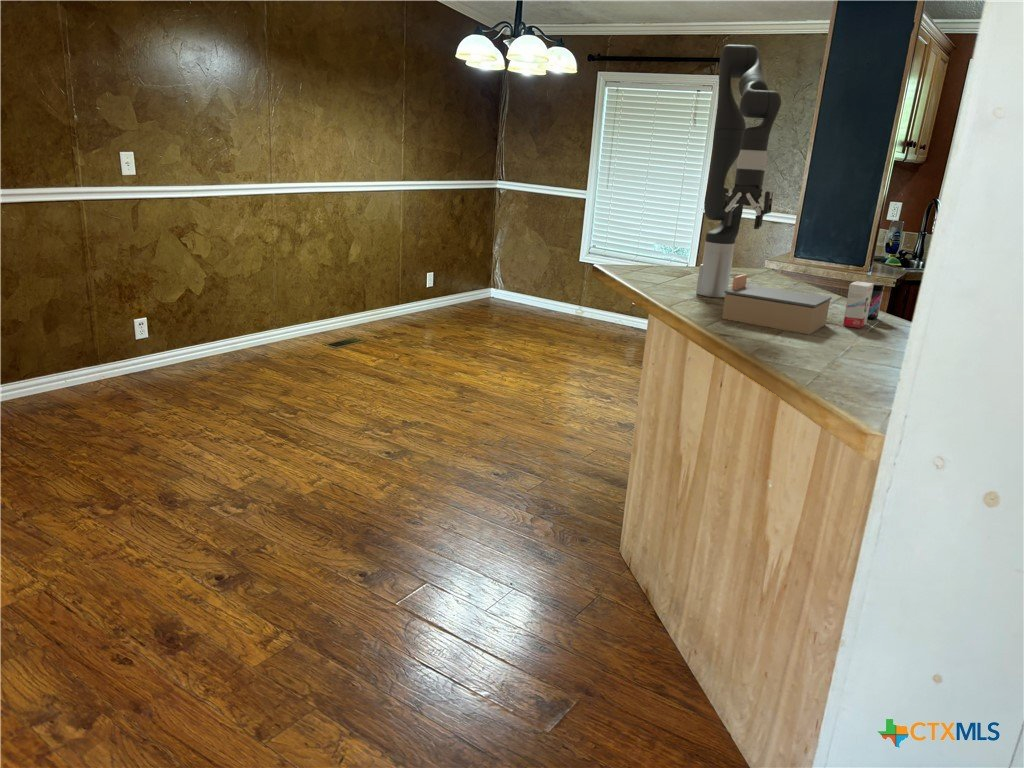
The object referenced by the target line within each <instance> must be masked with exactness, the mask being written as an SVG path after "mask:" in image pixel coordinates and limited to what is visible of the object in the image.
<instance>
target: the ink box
mask: <svg viewBox="0 0 1024 768" xmlns="http://www.w3.org/2000/svg"><path fill="white" fill-rule="evenodd" d="M873 285H874V283H867V282H860V281H854V282H851V283H850V284H849V286H848V292H847V293H848V294H847V299H846V305H845V311H844V315H843V316H844V317H843V323H842V326H843V327H850V328H858V329H861V328H862V327H864V326H865V325H866V324H867V323H868V320H867V318H868V312H869V307H870V302H871V296H872V291H873Z"/></svg>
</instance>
